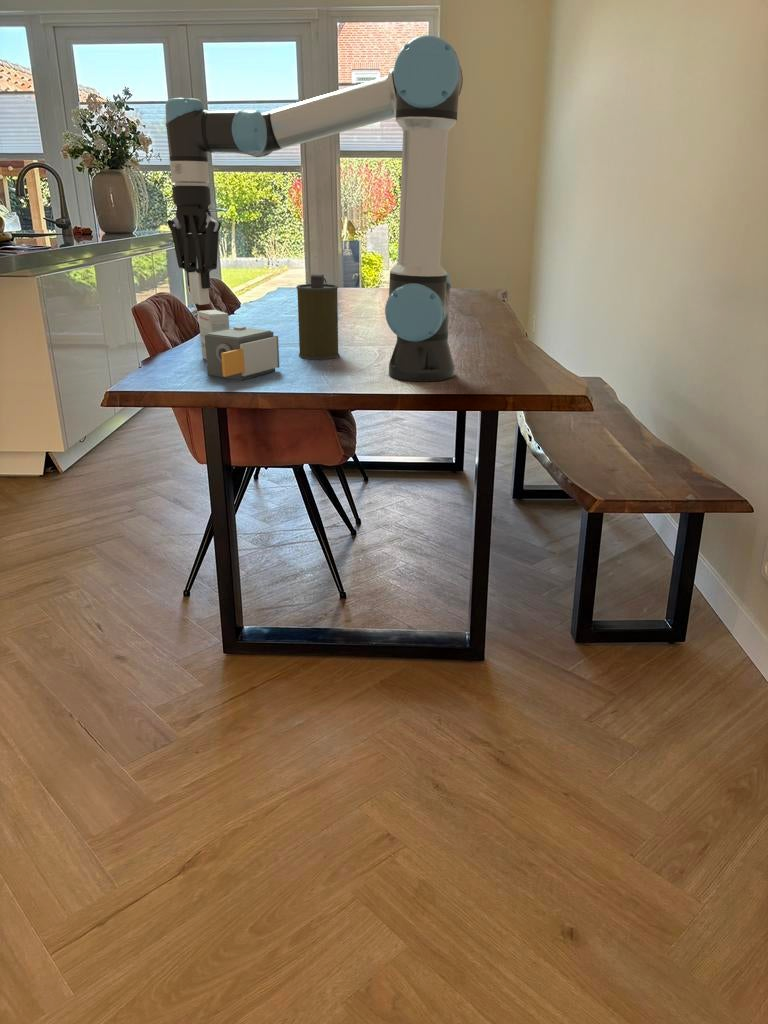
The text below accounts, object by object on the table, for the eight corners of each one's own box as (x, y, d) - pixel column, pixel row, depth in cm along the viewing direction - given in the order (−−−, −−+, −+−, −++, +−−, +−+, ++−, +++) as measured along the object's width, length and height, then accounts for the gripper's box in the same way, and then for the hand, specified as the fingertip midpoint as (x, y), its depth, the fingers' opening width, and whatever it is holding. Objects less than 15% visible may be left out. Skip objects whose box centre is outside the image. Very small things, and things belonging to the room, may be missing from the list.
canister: (338, 359, 192) (337, 277, 184) (296, 359, 192) (293, 276, 184) (340, 351, 202) (339, 272, 194) (300, 351, 202) (298, 272, 194)
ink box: (233, 362, 188) (230, 313, 184) (214, 364, 186) (210, 314, 181) (219, 356, 195) (216, 309, 190) (200, 358, 192) (197, 310, 188)
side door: (280, 367, 179) (278, 336, 176) (226, 381, 164) (223, 348, 162) (277, 366, 179) (275, 335, 177) (222, 381, 165) (220, 347, 162)
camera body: (275, 370, 179) (273, 328, 176) (238, 380, 169) (235, 336, 166) (242, 365, 184) (240, 324, 180) (204, 375, 174) (201, 331, 170)
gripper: (151, 184, 156) (163, 303, 165) (203, 184, 149) (213, 308, 158) (178, 185, 162) (188, 299, 171) (230, 185, 155) (237, 304, 164)
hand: (200, 303), depth 164 cm, fingers closed
